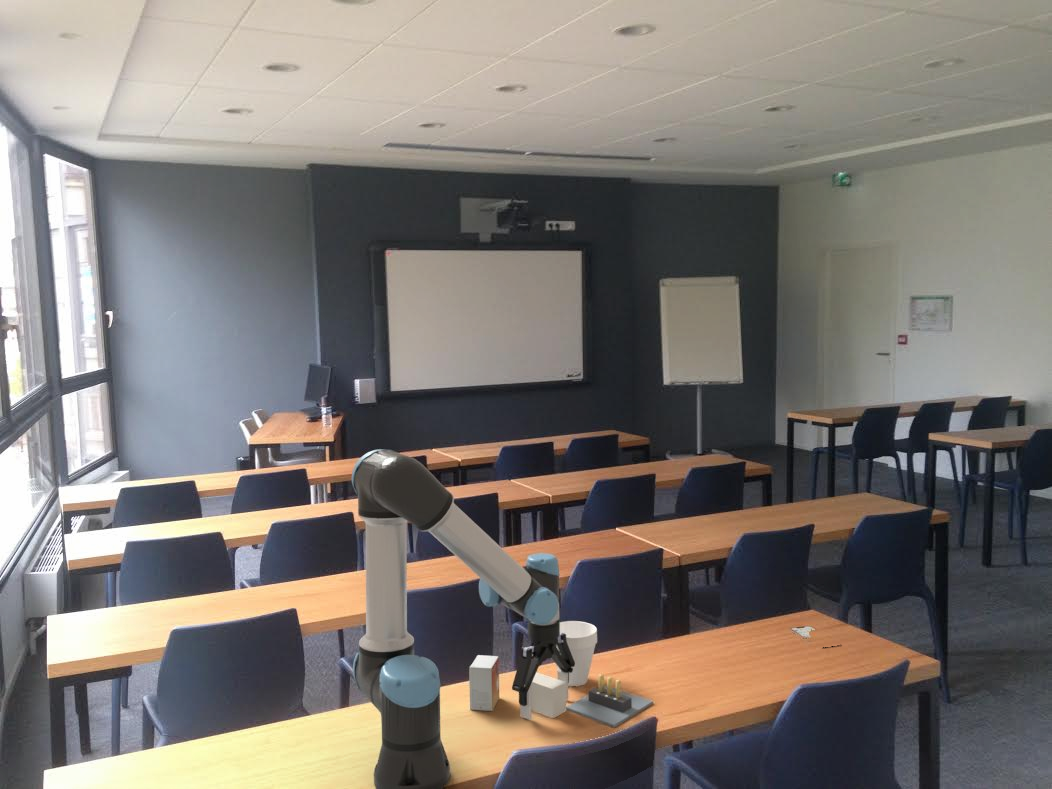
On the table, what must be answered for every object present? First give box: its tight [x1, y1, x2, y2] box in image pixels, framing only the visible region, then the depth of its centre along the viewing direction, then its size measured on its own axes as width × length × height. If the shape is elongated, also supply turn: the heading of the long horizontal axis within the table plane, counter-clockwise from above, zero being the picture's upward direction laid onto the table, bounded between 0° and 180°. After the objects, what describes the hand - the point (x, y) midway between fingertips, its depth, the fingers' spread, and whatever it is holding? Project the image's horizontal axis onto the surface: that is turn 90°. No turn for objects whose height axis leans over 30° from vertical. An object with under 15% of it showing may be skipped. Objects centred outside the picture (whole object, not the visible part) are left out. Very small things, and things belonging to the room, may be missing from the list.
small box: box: [468, 654, 500, 712], centre depth 200 cm, size 8×6×10 cm
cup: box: [555, 620, 598, 687], centre depth 212 cm, size 12×12×14 cm
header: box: [566, 673, 654, 728], centre depth 198 cm, size 16×14×7 cm
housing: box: [524, 671, 567, 719], centre depth 197 cm, size 5×9×7 cm, turn 48°
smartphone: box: [789, 625, 831, 642], centre depth 240 cm, size 7×1×15 cm
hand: (545, 707), depth 197 cm, fingers open, 13 cm apart
